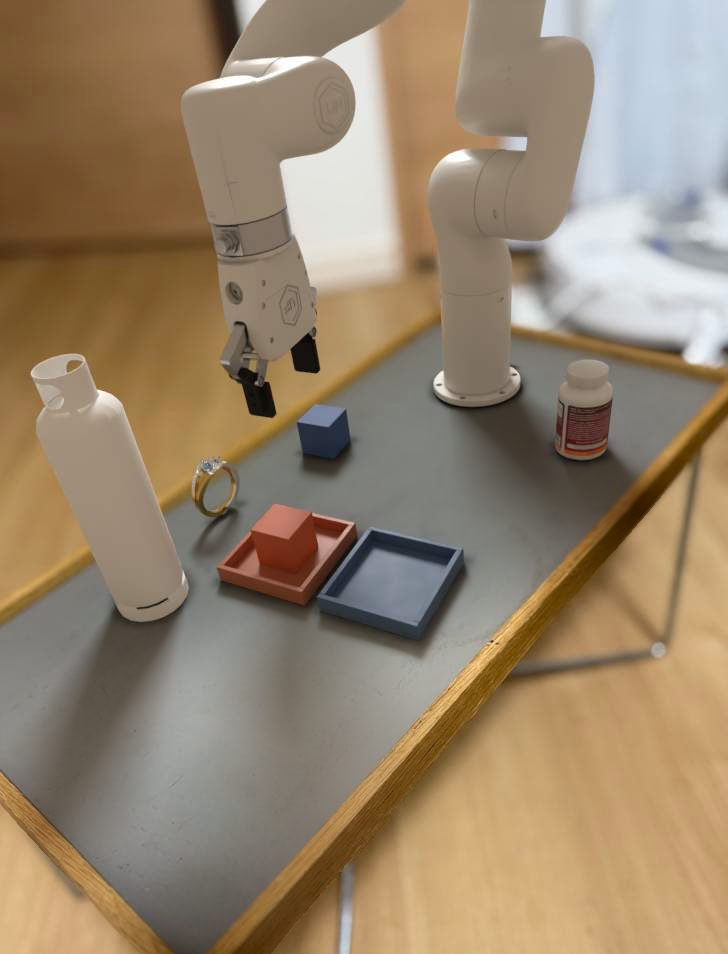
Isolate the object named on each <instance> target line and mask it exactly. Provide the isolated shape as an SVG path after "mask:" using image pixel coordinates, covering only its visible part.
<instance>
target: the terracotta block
mask: <svg viewBox="0 0 728 954" xmlns="http://www.w3.org/2000/svg"><path fill="white" fill-rule="evenodd" d="M312 513H313V512H312V511H308V510H304V509H300V508H296V507H291V506H288V505H287V506H286V505H282V504H279V503H273V504H272V505H271V506H270V508H269V509H268V510H267V511H266V512H265V513H264V514H263V515H262V516H261V517H260V518H259V520H258V521H257V522H256V523H255V524H253V526H252V527H251V528H250V530H249V531H251V534H252V538H253V542H254V545H255V549H256V553H257V556H258V560H259V563H260V564H263V565H266V566H270V567H273V568H277V569H281V570H284V571H288V572H291V573H295V574H297V573H298V571H299V570H300V569H301V568H302V566H303V565H304V564H305V563H306V561H307V560H308V559H309V558H310V556H311V555H312V554H313V553H314V551H315V550H316V549H317V548H318V541H317V536H316V531H315V526H314V521H313V516H312Z"/></svg>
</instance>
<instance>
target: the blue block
mask: <svg viewBox="0 0 728 954" xmlns="http://www.w3.org/2000/svg"><path fill="white" fill-rule="evenodd" d="M349 425H350V424H349V419H348V412H347V408H344V407H336V406H331V405H324V404H318V403H315V404H313V406H311V408H309V409H308V410H307V411H306V412H305V413H304V414H303V415H302V416H301V417H300V418H299V419H298V420H297V421H296V427H297V432H298V437H299V441H300V447H301V451H302V454H305V455H311V456H316V457H320V458H326V459H331V460H334V459H336V457H337V456H338V455H339V454H340V453H341V451H342V450H343V449H344V448H345V447H346V446H347V445H348V444H349V443H350V441H352V439H351V433H350V432H351V431H350V426H349Z"/></svg>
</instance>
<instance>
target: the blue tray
mask: <svg viewBox="0 0 728 954" xmlns="http://www.w3.org/2000/svg"><path fill="white" fill-rule="evenodd" d="M464 555H465V553H464V547H462V546H461V547H460V546H457V545H452V544H448V543H444V542H440V541H435V540H431V539H427V538H422V537H418V536H413V535H408V534H406V533H405V534H404V533H401V532H396V531H392V530H389V529H383V528H379V527H375V526H371V525H370V526H368V528H367V529H366V530H365V532H363V534H362V535H361V537H360V539H359V540H358V541H357V542H356V544H355V545H354V547H352V549H351V550H350V552H349V553H348V554H347V555H346V557H345V558H344V559H343V561H342V562H341V563H340V565H339V566H338V568H337V569H336V570H335V572H334V573H333V574H332V576H331V577H330V578H329V580H328V581H327V582H326V583H325V585H324V587H323V588H322V589H321V590H320V592H319V593H318V595H316V601H317V604H318V609H319V611H320V612H324V613H327V614H330V615H333V616H337V617H340V618H342V619H343V618H344V619H346V620H350V621H353V622H357V623H360V624H363V625H366V626H370V627H373V628H375V629H379V630H382V631H385V632H390V633H391V634H392V633H393V634H395V635H399V636H402V637H406V638H408V639H412V640H415V641H419V640H420V638H421V637H422V635H423V633H424V632H425V630H426V628H427V626H428V625H429V623H430V621H431V619H432V618H433V616H434V614H435V613H436V611H437V609H438V608H439V606H440V604H441V602H442V600H443V599H444V597H445V596H446V594H447V592H448V590H449V589H450V587H451V585H452V583H453V581H454V580H455V578H456V576H457V574H458V573H459V572H460V569H461V568H462V566H463V564H464V562H465V556H464Z"/></svg>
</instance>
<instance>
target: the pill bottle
mask: <svg viewBox="0 0 728 954" xmlns="http://www.w3.org/2000/svg"><path fill="white" fill-rule="evenodd" d="M609 375H610V367H609V366H608V364H607V363H605V362H603V361H601V360H597V359H580V360H576V361H573V362H571V363H569V364H568V365H567V367H566V372H565V381H564V382H563V383H561V385H560V387H559V389H558V395H557V410H556V425H555V437H554V438H555V439H554V447H555V450H556V451H557V453H558V454H560V455H561V456H563V457H564V458H567V459H569V460H575V461H590V460H593V459H596V458H598V457H600V456H602V455H603V454H605V452H606V450H607V447H608V442H609V441H608V440H609V431H610V423H611V416H612V407H613V400H614V399H613V398H614V388H613V385H612V384H611V382H609V381H608V380H609Z"/></svg>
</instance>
